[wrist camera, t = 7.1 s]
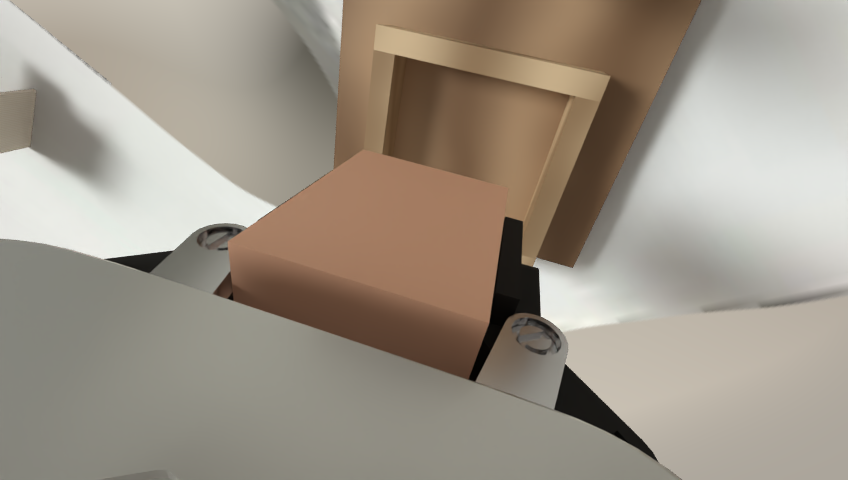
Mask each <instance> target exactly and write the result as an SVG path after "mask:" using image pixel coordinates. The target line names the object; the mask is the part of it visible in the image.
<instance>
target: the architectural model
mask: <svg viewBox="0 0 848 480" xmlns="http://www.w3.org/2000/svg"><path fill="white" fill-rule="evenodd" d="M8 1H10V0H8ZM10 2H11V1H10ZM11 3H12V4H13V5H15V4H14V3H13V2H11ZM15 6H16V5H15ZM16 7H17V6H16ZM17 8H18V9H19V10H21V9H20V8H19V7H17ZM21 11H22V10H21ZM22 12H23V13H24V11H22ZM24 14H25V15H27V14H26V13H24ZM27 16H28V17H29V18H30V19H32V18H31V17H30V16H29V15H27ZM32 20H33V19H32ZM33 21H34V22H35V23H36V24H38V23H37V22H36V21H35V20H33ZM38 25H39V26H40V27H41V28H42V29H44V28H43V27H42V26H41V25H40V24H38ZM44 30H45V31H46V32H47V33H48V34H50V35H51V36H52V37H53V38H54V39H55V40H57V41H58V42H59V43H60V44H61V45H63V46H64V47H65V48H66V49H67V50H68V51H70V52H71V53H72V54H73V55H74V56H75V57H77V58H78V59H79V60H80V61H81V62H82V63H84V64H85V65H86V66H87V67H88V68H90V69H91V70H92V71H93V72H94V73H96V74H97V75H98V76H99V77H101V78H102V79H103V80H104V81H105V82H107V83H108V84H109V85H110V86H111V84H112V83H111V82H110V81H108V80H107V79H106V78H105V77H103V76H102V75H101V74H100V73H99V72H97V71H96V70H95V69H93V68H92V67H91V66H90V65H88V64H87V63H86V62H85V61H84V60H83V59H81V58H80V57H79V56H78V55H76V54H75V53H74V52H73V51H72V50H70V49H69V48H68V47H67V46H65V45H64V44H63V43H62V42H60V41H59V40H58V39H57V38H56V37H54V36H53V35H52V34H51V33H49V32H48V31H47V30H46V29H44ZM35 99H36V90H35V89H27V90H18V91H10V92H1V93H0V153H4V152H9V151H13V150H18V149H22V148H26V147H30V146H31V137H32V127H33V118H34V108H35Z"/></svg>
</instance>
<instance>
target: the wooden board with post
mask: <svg viewBox="0 0 848 480" xmlns="http://www.w3.org/2000/svg"><path fill="white" fill-rule="evenodd" d="M700 2H701V0H343V17H342V34H341V51H340V69H339V86H338V103H337V121H336V139H335V156H334V169H335V168H337V167H338V166H340V165H341V164H343V163H344V162H346V161H347V160H349V159H350V158H352V157H353V156H354V155H356V154H357V153H359V152H360V151H362V150H363V149H364V150H368V151H372V152H375V153H379V154H383V155H387V156H391V157H394V158H398V159H402V160H406V161H409V162H413V163H417V164H421V165H424V166H428V167H432V168H436V169H439V170H443V171H447V172H451V173H455V174H458V175H462V176H466V177H470V178H473V179H477V180H481V181H485V182H488V183H492V184H496V185H500V186H503V187H507V188H508V195H507V202H506V209H505V216H506V217H510V218H513V219H517V220H520V221H523V239H522V264H525V265H528V266H532V267H533V265H534V262H535V260H536V257H537V258H540V259H544V260H547V261H551V262H554V263H558V264H561V265H565V266H568V267H572V268H573V266H574V264H575V262H576V260H577V258H578V256H579V254H580V252H581V250H582V248H583V246H584V243H585V241H586V239H587V237H588V235H589V233H590V231H591V229H592V227H593V225H594V223H595V221H596V218H597V216H598V214H599V212H600V210H601V208H602V206H603V204H604V202H605V200H606V198H607V196H608V193H609V191H610V189H611V187H612V185H613V183H614V181H615V179H616V177H617V175H618V173H619V171H620V169H621V166H622V164H623V162H624V160H625V158H626V156H627V154H628V152H629V150H630V148H631V146H632V144H633V141H634V139H635V137H636V135H637V133H638V131H639V129H640V127H641V125H642V123H643V121H644V119H645V116H646V114H647V112H648V110H649V108H650V106H651V104H652V102H653V100H654V98H655V96H656V94H657V92H658V89H659V87H660V85H661V83H662V81H663V79H664V77H665V75H666V73H667V71H668V69H669V67H670V64H671V62H672V60H673V58H674V56H675V54H676V52H677V50H678V48H679V46H680V44H681V42H682V39H683V37H684V35H685V33H686V31H687V29H688V27H689V25H690V23H691V21H692V19H693V17H694V14H695V12H696V10H697V8H698V6H699V4H700ZM505 216H504V218H505Z"/></svg>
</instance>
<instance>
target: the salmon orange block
mask: <svg viewBox="0 0 848 480" xmlns="http://www.w3.org/2000/svg"><path fill="white" fill-rule="evenodd" d="M507 195H508V188H507V187H503V186H500V185H496V184H492V183H488V182H485V181H481V180H477V179H473V178H470V177H466V176H462V175H458V174H455V173H451V172H447V171H443V170H439V169H436V168H432V167H428V166H424V165H421V164H417V163H413V162H409V161H406V160H402V159H398V158H394V157H391V156H387V155H383V154H379V153H375V152H372V151H368V150H364V149H363V150H362V151H360V152H359V153H357V154H356V155H354V156H353V157H352V158H350V159H349V160H347V161H346V162H344V163H343V164H341V165H340V166H338V167H337V168H335V169H334V170H332V171H331V172H329V173H328V174H326V175H325V176H323V177H322V178H320V179H319V180H318V181H316V182H315V183H313V184H312V185H310V186H309V187H307V188H306V189H304V190H303V191H301V192H300V193H298V194H297V195H295V196H294V197H292V198H291V199H289V200H288V201H287V202H285V203H284V204H282V205H281V206H279V207H278V208H276V209H275V210H273V211H272V212H270V213H269V214H267V215H266V216H264V217H263V218H261V219H260V220H258V221H257V222H255V223H254V224H253V225H251V226H250V227H248V228H247V229H245V230H244V231H242V232H241V233H239V234H238V235H236V236H235V237H233V238H232V239H230V240H229V241H228V251H229V261H230V270H231V280H232V290H233V299H234V301H235V302H238V303H241V304H244V305H247V306H250V307H253V308H256V309H259V310H262V311H265V312H268V313H271V314H274V315H277V316H280V317H283V318H286V319H289V320H292V321H295V322H298V323H301V324H304V325H307V326H310V327H313V328H316V329H319V330H322V331H325V332H328V333H331V334H334V335H337V336H340V337H343V338H346V339H349V340H352V341H355V342H358V343H361V344H364V345H367V346H370V347H373V348H376V349H379V350H382V351H385V352H388V353H391V354H394V355H397V356H400V357H403V358H406V359H409V360H412V361H415V362H418V363H421V364H424V365H427V366H430V367H433V368H436V369H439V370H442V371H445V372H448V373H451V374H454V375H456V376H459V377H462V378H465V379H469V376H470V374H471V371H472V368H473V366H474V363H475V360H476V357H477V355H478V352H479V349H480V347H481V344H482V341H483V338H484V336H485V333H486V330H487V328H488V325H489V321H490V314H491V307H492V300H493V293H494V286H495V279H496V272H497V265H498V258H499V251H500V244H501V237H502V230H503V223H504V216H505V209H506V202H507Z"/></svg>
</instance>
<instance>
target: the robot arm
mask: <svg viewBox="0 0 848 480" xmlns="http://www.w3.org/2000/svg"><path fill="white" fill-rule="evenodd" d="M330 172H331V171H330ZM327 174H328V173H327ZM324 176H325V175H324ZM321 178H322V177H321ZM318 180H319V179H318ZM318 180H317V181H318ZM315 182H316V181H315ZM315 182H314V183H315ZM312 184H313V183H312ZM312 184H311V185H312ZM309 186H310V185H309ZM309 186H308V187H309ZM305 189H306V188H305ZM303 190H304V189H303ZM303 190H302V191H303ZM299 193H300V192H299ZM296 195H297V194H296ZM293 197H294V196H293ZM290 199H291V198H290ZM287 201H288V200H287ZM287 201H286V202H287ZM283 204H284V203H283ZM281 205H282V204H281ZM281 205H280V206H281ZM278 207H279V206H278ZM278 207H277V208H278ZM275 209H276V208H275ZM275 209H274V210H275ZM272 211H273V210H272ZM272 211H271V212H272ZM269 213H270V212H269ZM269 213H268V214H269ZM266 215H267V214H266ZM266 215H265V216H266ZM262 218H263V217H262ZM259 220H260V219H259ZM245 229H247V228H246V227H244V226H241V225H237V224H228V223H224V224H214V225H209V226H206V227H203V228H200V229H198V230H197V231H195V232H194V233H192V234H191V235H190V236H189V237H188V238H187V239H186V240H185V241H184V242H183V243H182V244H181V245H179V246H178V247H177V248H176V249H175V250H174V251H166V252H158V253H150V254H142V255H134V256H126V257H117V258H109V259H101V258H98V257H94V256H91V255H87V254H84V253H81V252H77V251H74V250H70V249H66V248H61V247H57V246H52V245H47V244H43V243H35V242H28V241H20V240H10V239H0V480H682V479H681V478H679V477H678V476H677V475H676V474H674V473H673V472H671V471H670V470H669V469H667V468H666V467H664V466H663V465H661V464H660V463H659V462H658V461H657V459H656V457H655V455H654V454H653V452H652V451H651V450H650V449H649V448H648V446H647V445H646V444H645V443H644V442H643V440H642V439H640V437H639V436H637V434H635V433H634V431H633V430H632V429H631V428H629V427H628V426H627V425H626V424H625V423H624V422H623V421H622V420H621V419H620V418H619V417H618V416H617V415H616V414H615V413H614V412H613V411H612V410H611V409H610V408H609V407H608V406H607V405H606V404H605V403H604V402H603V401H602V400H601V399H600V398H599V397H598V396H597V395H596V394H595V393H594V392H593V391H592V390H591V389H590V388H589V387H588V386H587V385H586V384H585V383H584V382H583V381H582V380H581V379H580V378H579V377H578V376H577V375H576V374H575V373H574V372H573V371H572V370H571V369H569V367H568V366H567V365H566V364H565V362H566V358H567V353H568V342H567V340H566V337H565V336H564V334H563V333H562V332H561V330H560V329H559V328H558V327H556V326H555V325H554V324H553V323H551V322H550V321H548V320H546V319H544V318H543V317H541V313H540V286H539V269H538V268H535V267H532V266H528V265H525V264H522V239H523V221H520V220H517V219H513V218H510V217H506V216H505V218H504V223H503V230H502V237H501V244H500V251H499V258H498V265H497V272H496V279H495V286H494V293H493V300H492V307H491V314H490V321H489V325H488V328H487V330H486V333H485V336H484V338H483V341H482V344H481V347H480V349H479V352H478V355H477V357H476V360H475V363H474V366H473V368H472V371H471V374H470V376H469V379H465V378H462V377H459V376H456V375H454V374H451V373H448V372H445V371H442V370H439V369H436V368H433V367H430V366H427V365H424V364H421V363H418V362H415V361H412V360H409V359H406V358H403V357H400V356H397V355H394V354H391V353H388V352H385V351H382V350H379V349H376V348H373V347H370V346H367V345H364V344H361V343H358V342H355V341H352V340H349V339H346V338H343V337H340V336H337V335H334V334H331V333H328V332H325V331H322V330H319V329H316V328H313V327H310V326H307V325H304V324H301V323H298V322H295V321H292V320H289V319H286V318H283V317H280V316H277V315H274V314H271V313H268V312H265V311H262V310H259V309H256V308H253V307H250V306H247V305H244V304H241V303H238V302H235V301H234V299H233V290H232V280H231V270H230V261H229V251H228V241H229V240H230V239H232V238H233V237H235V236H236V235H238V234H239V233H241V232H242V231H244V230H245Z"/></svg>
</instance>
